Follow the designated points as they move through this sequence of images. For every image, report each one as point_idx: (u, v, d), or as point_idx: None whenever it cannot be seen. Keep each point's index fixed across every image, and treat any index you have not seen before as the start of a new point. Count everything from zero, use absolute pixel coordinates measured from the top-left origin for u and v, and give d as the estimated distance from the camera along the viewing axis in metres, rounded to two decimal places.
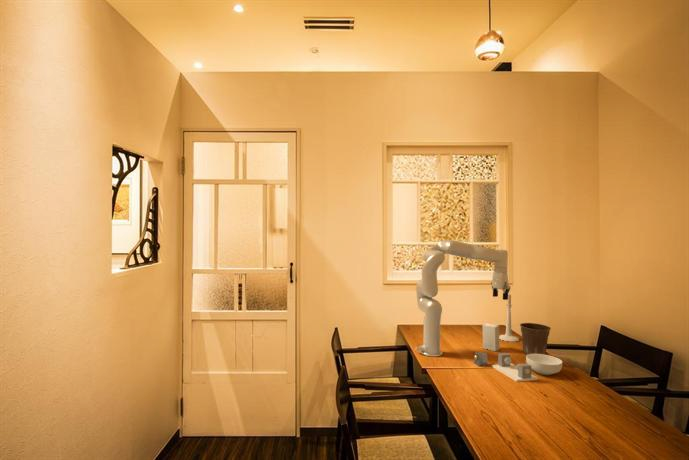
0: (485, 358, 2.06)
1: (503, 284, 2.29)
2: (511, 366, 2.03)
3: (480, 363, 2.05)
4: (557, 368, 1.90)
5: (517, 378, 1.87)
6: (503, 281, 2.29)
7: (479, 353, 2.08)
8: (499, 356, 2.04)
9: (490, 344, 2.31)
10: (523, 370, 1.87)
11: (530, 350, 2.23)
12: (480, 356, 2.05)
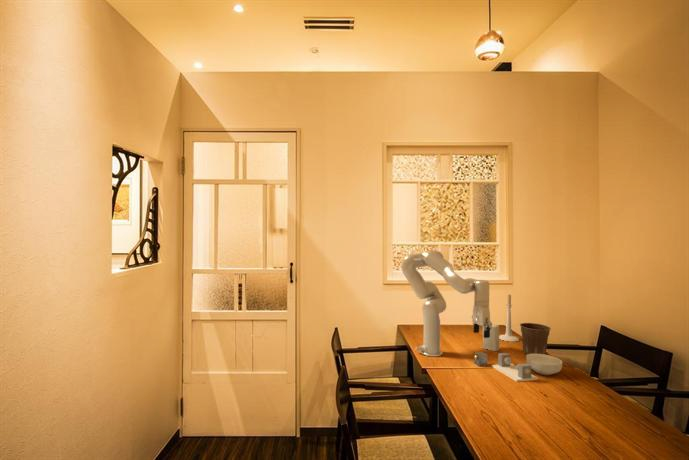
0: (485, 358, 2.06)
1: (484, 320, 2.02)
2: (511, 366, 2.03)
3: (480, 363, 2.05)
4: (557, 368, 1.90)
5: (517, 378, 1.87)
6: (484, 317, 2.02)
7: (479, 353, 2.08)
8: (499, 356, 2.04)
9: (490, 344, 2.31)
10: (523, 370, 1.87)
11: (530, 350, 2.23)
12: (480, 356, 2.05)
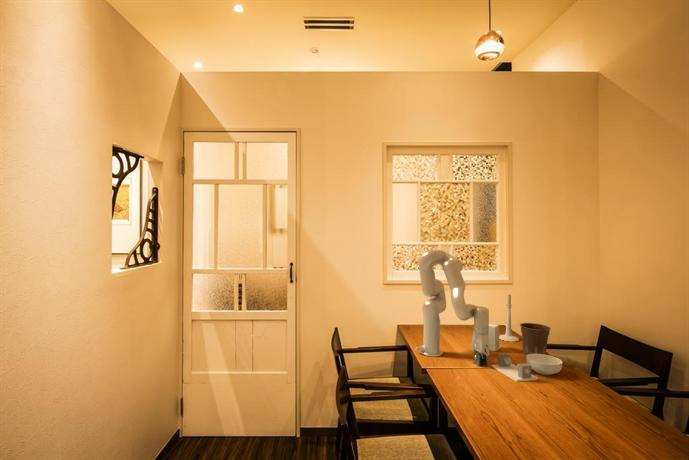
0: None
1: (483, 347, 2.02)
2: (511, 366, 2.03)
3: (480, 363, 2.05)
4: (557, 368, 1.90)
5: (517, 378, 1.87)
6: (483, 344, 2.02)
7: (479, 353, 2.08)
8: (499, 356, 2.04)
9: (490, 344, 2.31)
10: (523, 370, 1.87)
11: (530, 350, 2.23)
12: (480, 356, 2.05)
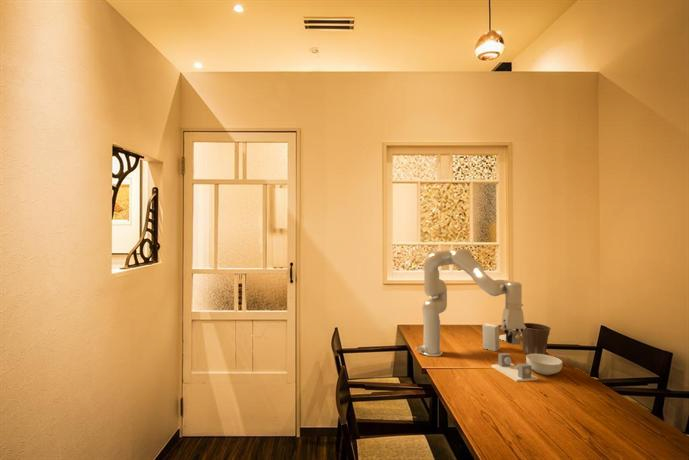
0: (511, 336, 1.95)
1: (502, 321, 1.97)
2: (511, 366, 2.03)
3: None
4: (557, 368, 1.90)
5: (517, 378, 1.87)
6: (502, 318, 1.97)
7: (512, 330, 1.97)
8: (499, 356, 2.04)
9: (490, 344, 2.31)
10: (523, 370, 1.87)
11: (530, 350, 2.23)
12: None
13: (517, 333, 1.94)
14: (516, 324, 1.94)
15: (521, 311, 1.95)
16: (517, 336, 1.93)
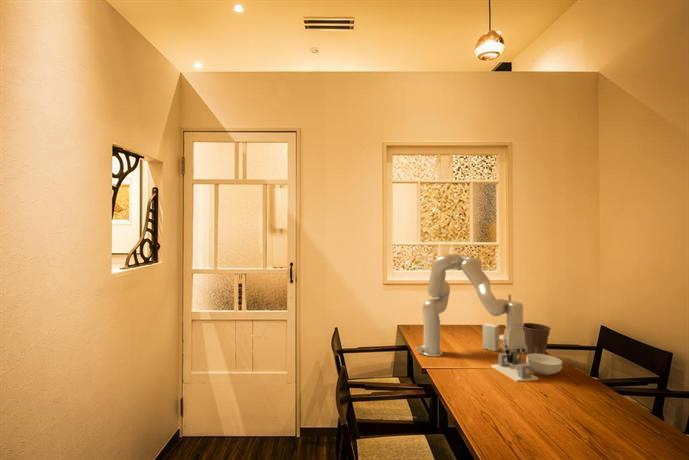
0: (512, 356, 1.94)
1: (503, 341, 1.97)
2: (511, 366, 2.03)
3: None
4: (557, 368, 1.90)
5: (517, 378, 1.87)
6: (504, 338, 1.97)
7: (514, 350, 1.97)
8: (499, 356, 2.04)
9: (490, 344, 2.31)
10: (523, 370, 1.87)
11: (530, 350, 2.23)
12: None
13: (518, 353, 1.94)
14: (517, 344, 1.94)
15: (522, 331, 1.95)
16: (518, 356, 1.93)
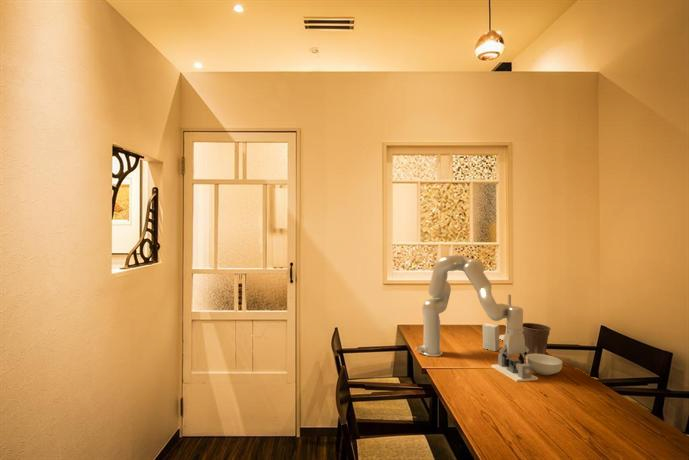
0: (511, 364, 1.95)
1: (503, 346, 1.97)
2: None
3: (508, 367, 1.97)
4: (557, 368, 1.90)
5: (517, 378, 1.87)
6: (503, 342, 1.97)
7: (513, 358, 1.97)
8: (499, 356, 2.04)
9: (490, 344, 2.31)
10: (523, 370, 1.87)
11: (530, 350, 2.23)
12: None
13: (518, 362, 1.94)
14: (517, 349, 1.94)
15: (522, 336, 1.95)
16: None
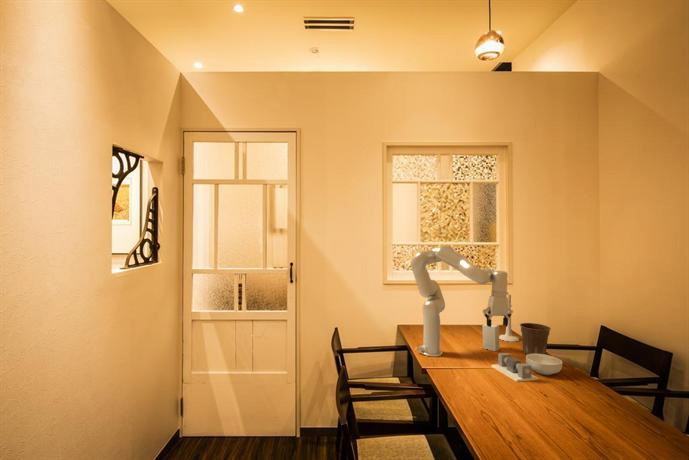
0: (511, 364, 1.95)
1: (487, 308, 2.06)
2: None
3: (508, 367, 1.97)
4: (557, 368, 1.90)
5: (517, 378, 1.87)
6: (488, 305, 2.06)
7: (513, 358, 1.97)
8: (499, 356, 2.04)
9: (490, 344, 2.31)
10: (523, 370, 1.87)
11: (530, 350, 2.23)
12: (507, 359, 1.97)
13: (518, 362, 1.94)
14: (500, 311, 2.03)
15: (506, 299, 2.04)
16: None
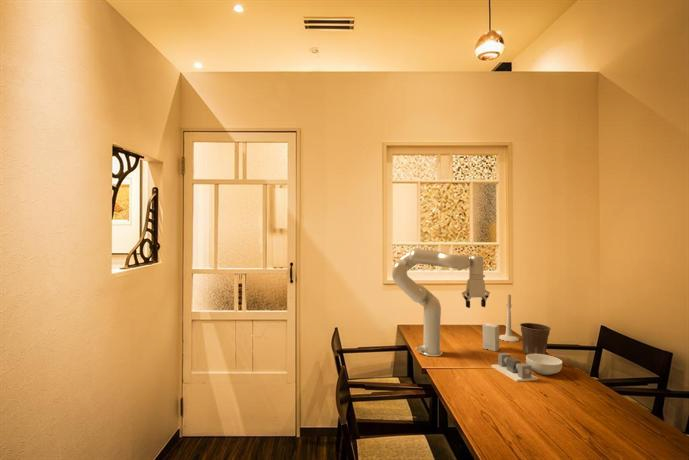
0: (511, 364, 1.95)
1: None
2: None
3: (508, 367, 1.97)
4: (557, 368, 1.90)
5: (517, 378, 1.87)
6: (466, 287, 2.20)
7: (513, 358, 1.97)
8: (499, 356, 2.04)
9: (490, 344, 2.31)
10: (523, 370, 1.87)
11: (530, 350, 2.23)
12: (507, 359, 1.97)
13: (518, 362, 1.94)
14: (478, 293, 2.18)
15: (483, 281, 2.18)
16: None
